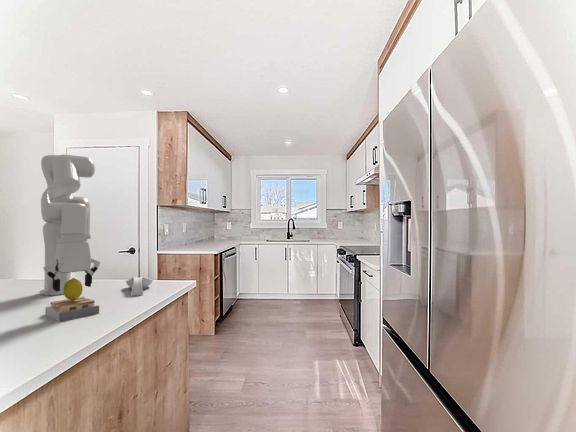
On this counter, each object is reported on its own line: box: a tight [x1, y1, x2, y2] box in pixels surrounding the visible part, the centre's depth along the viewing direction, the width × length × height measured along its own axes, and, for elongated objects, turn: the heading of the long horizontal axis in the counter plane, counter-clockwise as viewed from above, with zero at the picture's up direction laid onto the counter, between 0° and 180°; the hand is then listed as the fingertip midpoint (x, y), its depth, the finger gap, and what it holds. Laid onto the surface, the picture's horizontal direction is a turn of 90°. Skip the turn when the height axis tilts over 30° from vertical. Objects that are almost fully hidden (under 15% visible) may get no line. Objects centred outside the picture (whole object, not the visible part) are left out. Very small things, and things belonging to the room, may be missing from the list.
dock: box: [44, 303, 100, 322], centre depth 115 cm, size 12×12×3 cm
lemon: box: [63, 277, 83, 301], centre depth 116 cm, size 6×6×8 cm
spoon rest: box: [125, 276, 154, 297], centre depth 154 cm, size 24×12×7 cm, turn 22°
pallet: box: [50, 296, 96, 312], centre depth 116 cm, size 10×10×2 cm
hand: (72, 288), depth 116 cm, fingers open, 9 cm apart
